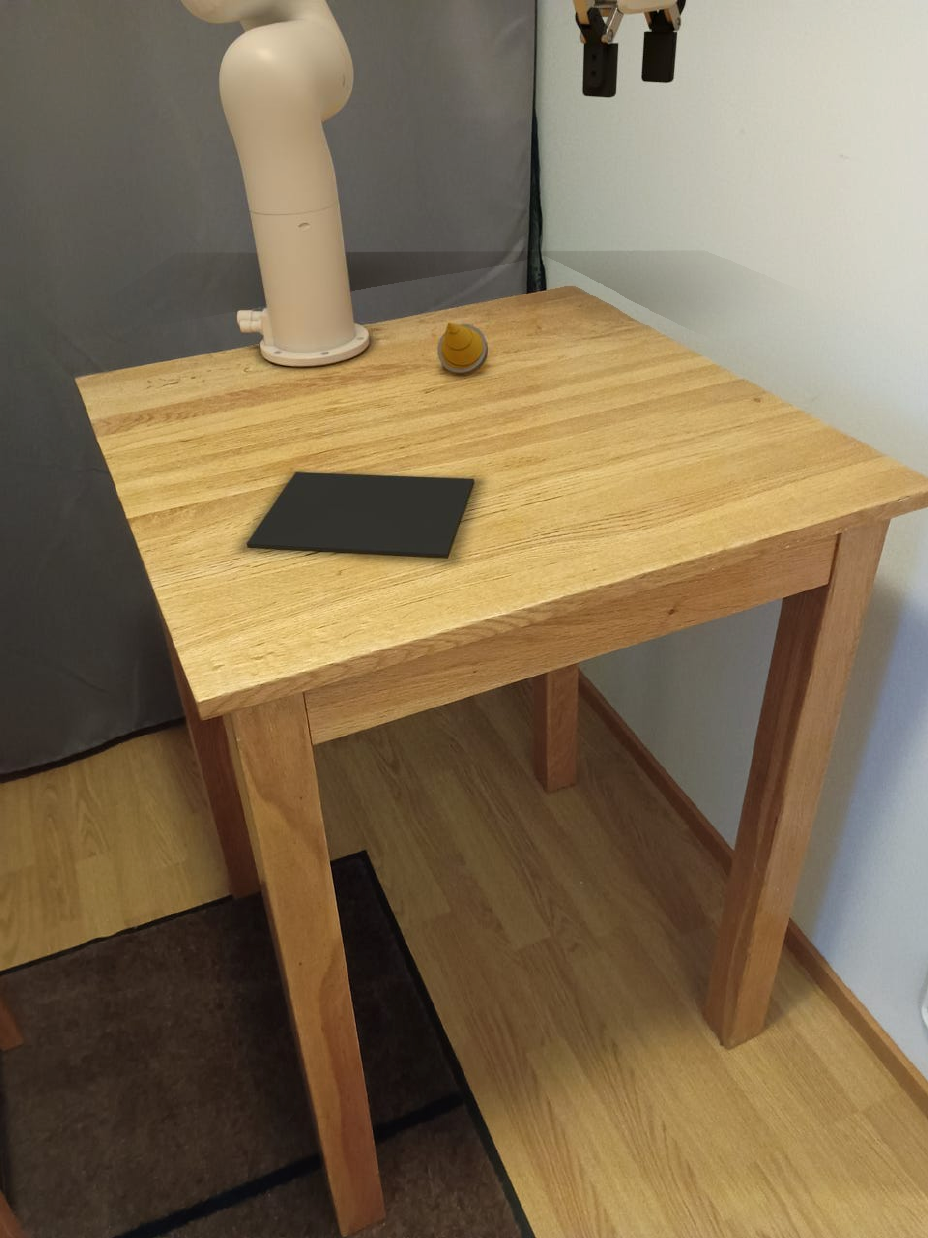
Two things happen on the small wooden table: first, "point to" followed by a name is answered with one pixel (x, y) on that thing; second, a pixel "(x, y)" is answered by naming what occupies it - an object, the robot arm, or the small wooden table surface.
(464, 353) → the yellow cone
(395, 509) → the mat
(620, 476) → the small wooden table surface
